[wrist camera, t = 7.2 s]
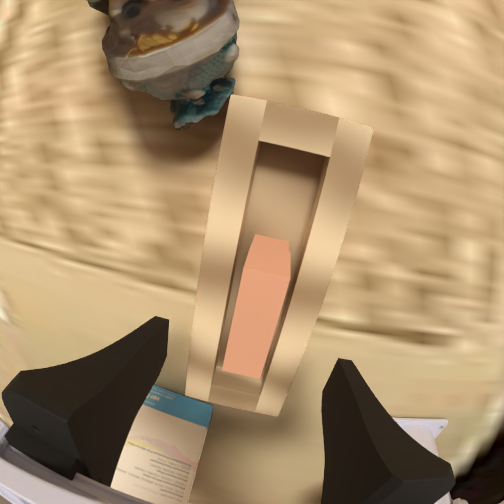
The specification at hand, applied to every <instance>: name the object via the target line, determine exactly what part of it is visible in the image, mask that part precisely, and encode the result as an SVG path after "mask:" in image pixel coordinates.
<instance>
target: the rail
mask: <svg viewBox="0 0 504 504" xmlns="http://www.w3.org/2000/svg"><path fill="white" fill-rule="evenodd" d="M373 129H374V128H372V127H369V126H366V125H362V124H359V123H356V122H352V121H349V120H345V119H342V118H338V117H334V116H331V115H327V114H323V113H319V112H315V111H311V110H307V109H303V108H299V107H294V106H290V105H285V104H281V103H276V102H271V101H266V100H261V99H255V98H250V97H244V96H238V95H232V94H231V96H230V101H229V106H228V111H227V116H226V121H225V126H224V131H223V136H222V141H221V147H220V152H219V157H218V163H217V168H216V174H215V180H214V185H213V191H212V197H211V203H210V209H209V215H208V221H207V227H206V234H205V240H204V247H203V253H202V260H201V267H200V274H199V281H198V288H197V296H196V303H195V311H194V319H193V327H192V335H191V343H190V352H189V361H188V370H187V379H186V389H185V396H188V397H192V398H196V399H200V400H204V401H207V402H211V403H215V404H220V405H224V406H228V407H233V408H237V409H242V410H246V411H251V412H256V413H261V414H267V415H272V416H278V415H279V412H280V410H281V408H282V405H283V403H284V401H285V398H286V396H287V394H288V391H289V389H290V386H291V384H292V382H293V379H294V377H295V374H296V372H297V369H298V367H299V364H300V362H301V359H302V357H303V354H304V351H305V349H306V346H307V344H308V341H309V338H310V336H311V333H312V330H313V328H314V325H315V322H316V319H317V317H318V314H319V311H320V308H321V305H322V303H323V300H324V297H325V294H326V291H327V288H328V285H329V282H330V279H331V276H332V273H333V270H334V267H335V264H336V261H337V258H338V255H339V252H340V249H341V245H342V242H343V239H344V236H345V233H346V229H347V226H348V223H349V219H350V216H351V212H352V209H353V205H354V202H355V198H356V195H357V191H358V188H359V184H360V180H361V177H362V173H363V169H364V165H365V161H366V157H367V153H368V149H369V145H370V141H371V137H372V133H373ZM255 234H257V235H261V236H265V237H270V238H274V239H278V240H283V241H287V242H289V252H291V264H290V282H289V285H288V289H287V292H286V295H285V299H284V302H283V306H282V309H281V312H280V316H279V319H278V322H277V326H276V329H275V332H274V336H273V339H272V342H271V345H270V349H269V352H268V355H267V358H266V361H265V365H264V368H263V371H262V374H261V377H260V379H257V378H253V377H248V376H244V375H239V374H235V373H231V372H226V371H222V367H223V362H224V358H225V353H226V348H227V343H228V339H229V334H230V329H231V324H232V320H233V315H234V310H235V305H236V301H237V296H238V291H239V286H240V282H241V277H242V272H243V268H244V265H245V261H246V258H247V255H248V252H249V249H250V246H251V243H252V242H253V239H254V236H255Z"/></svg>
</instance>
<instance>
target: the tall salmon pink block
mask: <svg viewBox="0 0 504 504" xmlns="http://www.w3.org/2000/svg"><path fill="white" fill-rule="evenodd" d="M290 264H291V252H289V242H287V241H283V240H278V239H274V238H270V237H265V236H261V235H257V234H255V236H254V239H253V242H252V243H251V246H250V249H249V252H248V255H247V258H246V261H245V265H244V268H243V272H242V277H241V282H240V286H239V291H238V296H237V301H236V305H235V310H234V315H233V320H232V324H231V329H230V334H229V339H228V343H227V348H226V353H225V358H224V362H223V367H222V371H226V372H231V373H235V374H239V375H244V376H248V377H253V378H257V379H260V377H261V374H262V371H263V368H264V365H265V361H266V358H267V355H268V352H269V349H270V345H271V342H272V339H273V336H274V332H275V329H276V326H277V322H278V319H279V316H280V312H281V309H282V306H283V302H284V299H285V295H286V292H287V289H288V285H289V282H290Z"/></svg>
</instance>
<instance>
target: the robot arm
mask: <svg viewBox="0 0 504 504" xmlns="http://www.w3.org/2000/svg"><path fill="white" fill-rule="evenodd" d="M168 329H169V320H168V319H164V318H161V317H157V316H155V317H153V318H152V319H150V320H149V321H147V322H146V323H144V324H143V325H141V326H140V327H139V328H137V329H136V330H134V331H133V332H131V333H129V334H128V335H126V336H125V337H123V338H122V339H120V340H118V341H116V342H115V343H113V344H111V345H109V346H108V347H106V348H104V349H102V350H100V351H98V352H96V353H93V354H91V355H89V356H86V357H83V358H80V359H77V360H74V361H71V362H68V363H65V364H61V365H57V366H53V367H48V368H42V369H34V370H26V371H20V372H19V373H18V374H17V375H16V376H15V378H14V379H13V380H12V381H11V382H10V383H9V384H8V386H7V387H6V388H5V389H4V390H3V392H2V400H3V402H4V405H5V407H6V409H7V411H8V413H9V415H10V417H11V419H12V421H13V423H14V424H13V425H12V426H11V428H9V427H8V426H7V425H6V424H5V423H4V422H3V421H1V420H0V495H1V496H3V497H4V498H5V499H7V500H8V501H10V502H11V503H12V504H154V503H151V502H148V501H145V500H142V499H139V498H137V497H134V496H131V495H128V494H126V493H123V492H121V491H118V490H115V489H113V488H111V484H112V480H113V477H114V474H115V470H116V467H117V464H118V462H119V459H120V456H121V453H122V450H123V447H124V445H125V442H126V439H127V437H128V434H129V432H130V429H131V427H132V424H133V422H134V420H135V418H136V416H137V414H138V412H139V410H140V408H141V406H142V404H143V403H144V401H145V399H146V397H147V396H148V394H149V392H150V390H151V389H152V387H153V385H154V383H155V381H156V380H157V378H158V376H159V374H160V372H161V369H162V367H163V364H164V362H165V359H166V357H167V344H168ZM447 424H448V420H447V419H421V418H396V417H391V416H390V415H389V414H388V412H387V411H386V410H385V409H384V407H383V406H382V405H381V403H380V402H379V401H378V399H377V398H376V397H375V395H374V394H373V392H372V391H371V389H370V388H369V386H368V385H367V383H366V382H365V380H364V379H363V377H362V376H361V374H360V372H359V371H358V369H357V368H356V366H355V365H354V363H353V362H352V360H346V359H340V358H338V360H337V362H336V364H335V366H334V368H333V371H332V373H331V375H330V377H329V379H328V381H327V383H326V385H325V387H324V389H323V392H322V425H323V437H324V451H325V467H324V481H323V491H322V500H321V504H468V503H467V501H465V500H461V499H460V498H457V499H455V500H452V499H451V497H450V493H449V491H450V490H451V489H452V488H453V486H454V485H455V478H454V474H453V471H452V467H451V464H450V463H448V462H446V461H445V460H443V459H441V458H440V457H439V453H438V450H437V447H436V444H435V440H434V439H435V438H436V437H437V436H438V435H439V433H440V432H441V431H442V430H443V429H444V428H445V426H446V425H447Z"/></svg>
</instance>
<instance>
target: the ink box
mask: <svg viewBox="0 0 504 504" xmlns="http://www.w3.org/2000/svg"><path fill="white" fill-rule="evenodd" d="M212 411H213V407H212V405H210V404H206V403H204V402H201V401H198V400H195V399H192V398H189V397H186V396H183V395H180V394H177V393H175V392H172V391H169V390H167V389H164V388H162V387H159V386H157V385H153V387H152V389H151V390H150V392H149V394H148V396H147V397H146V399H145V401H144V403H143V404H142V406H141V408H140V410H139V412H138V414H137V416H136V418H135V420H134V422H133V424H132V427H131V429H130V432H129V434H128V437H127V439H126V442H125V445H124V447H123V450H122V453H121V456H120V459H119V462H118V464H117V467H116V470H115V474H114V477H113V480H112V484H111V488H113V489H115V490H118V491H121V492H123V493H126V494H128V495H131V496H134V497H137V498H139V499H142V500H145V501H148V502H151V503H154V504H188V501H189V497H190V494H191V490H192V486H193V483H194V479H195V475H196V472H197V468H198V464H199V460H200V457H201V453H202V449H203V446H204V442H205V438H206V434H207V431H208V427H209V423H210V420H211V416H212Z"/></svg>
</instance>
